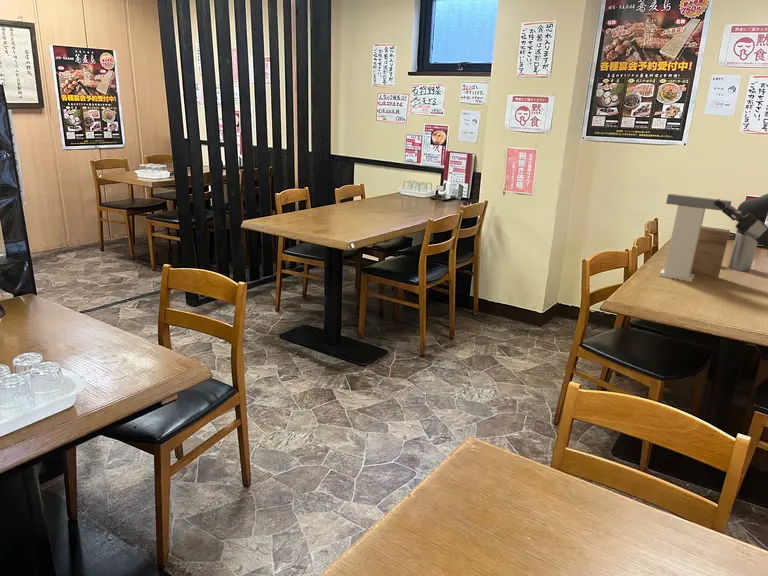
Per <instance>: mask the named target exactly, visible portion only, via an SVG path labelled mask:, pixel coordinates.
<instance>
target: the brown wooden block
mask: <svg viewBox="0 0 768 576" xmlns="http://www.w3.org/2000/svg"><path fill="white" fill-rule="evenodd" d="M730 232H731V230H730V229H726V228H718V227H716V228H715V227H710V226H703V225H702V226H701V230H700V235H699V239H698V243H697V248H696V252H695V257H694V261H693V265H692V270H691V274H694V277H696V276H698V277H697V278H701V277H703V278H702V279H707V278H708V279H709V280H712V279H713V280H714V281H718V280H719V276H720V273H721V272H720V271H721V269H722V265H723V260H724V256H725V253H726V248H727V244H728V240H729V235H730ZM713 280H712V281H713Z"/></svg>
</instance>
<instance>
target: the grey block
mask: <svg viewBox="0 0 768 576" xmlns="http://www.w3.org/2000/svg"><path fill="white" fill-rule="evenodd" d="M718 199H719V198H718ZM718 199H717V198H710V197H701V196H699V197H698V196H691V195H682V194H674V193H668V194H667V198H666V203H665V204H666V205H674V206H678V205H680V206H688V207H696V208H704V209H705V210H713V211H721V212H722V210H721V209H720V208H719V207H717V206H716V205H714V203H715V202H716V201H717V200H718ZM719 201H720V202H722V203H723V204H725V205H726V206H728V207H729V208H730V206H732V200H728V199H720V200H719ZM727 211H728V210H727Z"/></svg>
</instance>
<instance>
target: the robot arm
mask: <svg viewBox="0 0 768 576" xmlns="http://www.w3.org/2000/svg"><path fill="white" fill-rule="evenodd" d="M719 200H721V199H720V198H718V200H717V201H716V202H715V203H714V205H716V206H717V207H719V208H720V209H721V210H722V211H721V212H722V213H724V214H725V215H726V216H727V217H728V218H730V220H732V221H733V222H734V221H736V222H737V223H736V225H735V228H736V234H735V239H734V243H733V246H732V251H731V254H730V258H729V262H728V269H732V270H735V271H740V272H741V271H743V272H750V271H751V268H752V264H753V261H754V257H755V253H756V250H757V249H756V248H757V246H758V244H760V246H762V247H764V248H765V249H766V250H768V225H767V224H766V221H767V217H768V193H766V194H763V195H761V196H758V197H755V198H750V199H747V200H744V201H743V202H741V203H740V204H739V205H738V207H737V208H736V207H734V206H733V205H731V206H730V208H729V207H728V206H726V205H725V204H723V203H722V202H720V201H719ZM727 210H728V211H727Z"/></svg>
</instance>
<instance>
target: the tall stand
mask: <svg viewBox="0 0 768 576" xmlns="http://www.w3.org/2000/svg"><path fill="white" fill-rule="evenodd" d="M705 212H706V209H704V208H696V207H688V206H680V205H677V210H676V212H675V218H674V224H673V228H672V231H671V232H672V233H671V238H670V243H669V248H668V252H667V256H666V261H665V266H664V268H662V269H661V270H660V272H659V277H663V278H668V279H672V278H674V279H673V280H677V279H679V281H683V280H685V281H684V282H688V281H689V282H690V283H692V281H693V280H692V279H694V278H695V276H694V274H691V270H692V265H693V261H694V257H695V252H696V248H697V243H698V239H699V235H700V230H701V226H703V223H704V222H703V221H704V218H705V217H704V216H705ZM689 282H688V283H689Z"/></svg>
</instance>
